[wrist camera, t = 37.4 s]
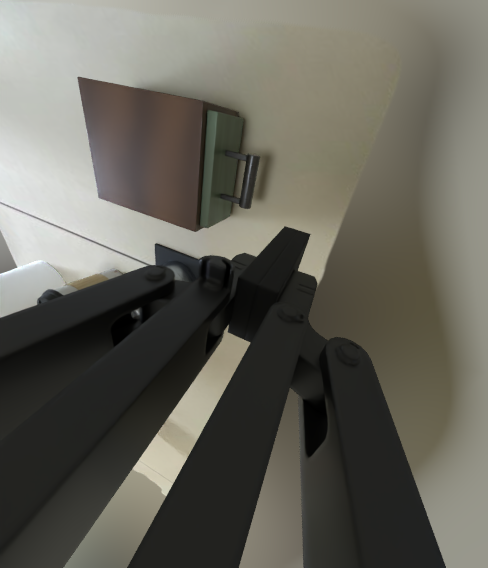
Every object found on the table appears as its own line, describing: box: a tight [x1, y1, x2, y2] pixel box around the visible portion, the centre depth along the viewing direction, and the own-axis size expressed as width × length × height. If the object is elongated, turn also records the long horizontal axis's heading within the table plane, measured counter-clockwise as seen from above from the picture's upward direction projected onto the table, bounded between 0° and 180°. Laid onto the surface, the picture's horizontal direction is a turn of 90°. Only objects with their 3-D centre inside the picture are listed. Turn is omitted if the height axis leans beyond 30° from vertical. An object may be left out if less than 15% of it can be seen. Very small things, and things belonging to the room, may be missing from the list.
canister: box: [0, 261, 66, 318], centre depth 61 cm, size 14×14×20 cm
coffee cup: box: [37, 269, 123, 305], centre depth 50 cm, size 10×10×15 cm
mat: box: [155, 244, 199, 279], centre depth 47 cm, size 12×12×1 cm
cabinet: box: [78, 77, 239, 232], centre depth 32 cm, size 17×14×9 cm
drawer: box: [200, 110, 260, 228], centre depth 31 cm, size 20×12×7 cm, turn 80°
